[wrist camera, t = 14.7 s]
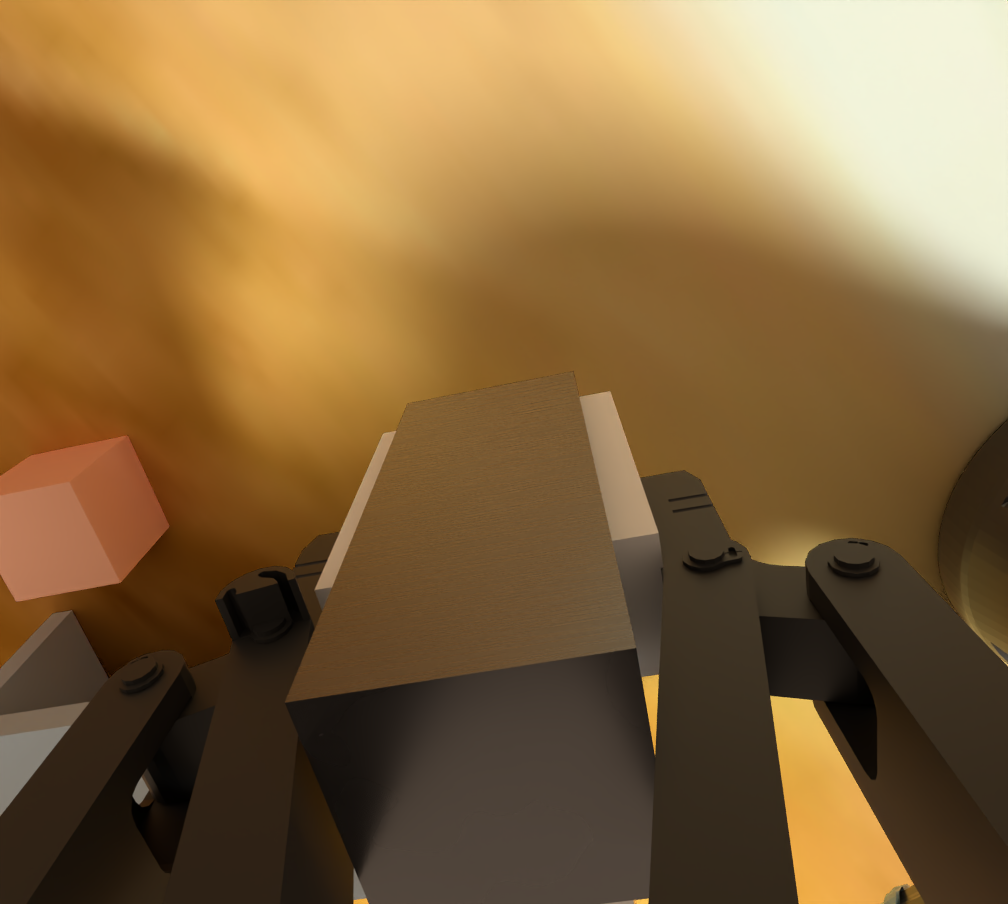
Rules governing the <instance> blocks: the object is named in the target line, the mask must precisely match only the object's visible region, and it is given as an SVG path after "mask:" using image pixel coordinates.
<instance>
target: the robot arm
mask: <svg viewBox="0 0 1008 904" xmlns="http://www.w3.org/2000/svg"><path fill="white" fill-rule="evenodd" d="M579 398H580V402H581V407H582V411H583V415H584V420H585V424H586V429H587V433H588V437H589V442H590V446H591V451H592V455H593V459H594V464H595V468H596V473H597V477H598V481H599V486H600V490H601V495H602V499H603V503H604V508H605V512H606V517H607V521H608V525H609V530H610V534H611V539H612V543H613V547H614V552H615V556H616V561H617V565H618V569H619V574H620V578H621V583H622V587H623V591H624V596H625V600H626V605H627V609H628V613H629V618H630V622H631V627H632V631H633V635H634V640H635V644H636V649H637V655H638V660H639V666H640V672H641V677H644V676H651V675H658V674H659V688H658V710H657V732H656V753H655V775H654V797H653V819H652V841H651V863H650V885H649V904H799V903H798V896H797V888H796V881H795V874H794V867H793V859H792V852H791V845H790V838H789V830H788V823H787V816H786V809H785V801H784V794H783V787H782V780H781V772H780V765H779V758H778V751H777V743H776V736H775V729H774V722H773V714H772V707H771V700H770V696H779V697H789V698H799V699H809V700H813V703H814V707H815V709H816V711H817V713H818V714H819V716H820V718H821V720H822V721H823V723H824V725H825V727H826V729H827V730H828V732H829V734H830V736H831V737H832V739H833V741H834V743H835V745H836V746H837V748H838V750H839V752H840V754H841V755H842V757H843V759H844V761H845V762H846V764H847V766H848V768H849V770H850V771H851V773H852V775H853V777H854V778H855V780H856V782H857V784H858V786H859V787H860V789H861V791H862V793H863V794H864V796H865V798H866V800H867V802H868V803H869V805H870V807H871V809H872V810H873V812H874V814H875V816H876V818H877V819H878V821H879V823H880V825H881V826H882V828H883V830H884V832H885V834H886V835H887V837H888V839H889V841H890V842H891V844H892V846H893V848H894V850H895V851H896V853H897V855H898V857H899V859H900V860H901V862H902V864H903V866H904V867H905V869H906V871H907V873H908V875H909V876H910V878H911V880H912V882H913V883H914V885H913V886H911V887H910V886H909V885H908V884H905V885H901V886H897V887H894V888H893V889H892V890H891V892H890V893H889V894H886V896H885V898H884V902H883V903H881V904H1008V666H1007V665H1006V664H1005V663H1004V662H1003V661H1005V662H1006V663H1007V664H1008V420H1007V421H1006V422H1005V423H1004V424H1003V425H1002V426H1001V427H1000V428H999V429H998V430H997V431H996V432H995V433H994V434H993V435H992V436H991V437H990V438H989V439H988V440H987V441H986V443H985V444H984V445H983V446H982V447H981V449H980V450H979V451H978V452H977V453H976V455H975V456H974V457H973V459H972V460H971V462H970V463H969V464H968V466H967V467H966V469H965V471H964V472H963V474H962V475H961V477H960V479H959V481H958V482H957V484H956V486H955V488H954V490H953V492H952V495H951V497H950V499H949V502H948V504H947V507H946V510H945V513H944V516H943V520H942V524H941V529H940V534H939V543H938V562H939V570H940V575H941V580H942V583H943V586H944V589H945V592H946V594H947V596H948V598H949V600H950V602H951V604H952V606H953V607H954V609H955V610H956V611H957V613H958V614H959V615H960V616H959V615H958V614H957V613H956V612H955V611H954V610H953V609H952V608H951V607H950V606H949V605H948V604H947V603H946V602H945V601H944V600H943V599H942V598H941V597H940V596H939V595H938V594H937V593H936V591H935V590H934V589H933V588H932V587H931V586H930V585H929V584H928V583H927V582H926V581H925V580H924V579H923V578H922V577H921V576H920V575H919V574H918V573H917V572H916V571H915V570H914V569H913V568H912V567H911V566H910V565H909V564H908V562H907V561H906V560H905V559H904V558H903V557H902V556H901V555H900V554H898V553H897V552H895V551H894V550H893V549H891V548H890V547H888V546H886V545H883V544H880V543H877V542H874V541H870V540H864V539H854V538H848V539H838V540H832V541H829V542H826V543H822V544H819V545H818V546H817V547H815V548H814V549H812V550H811V551H810V552H809V553H808V556H807V558H806V560H805V567H801V566H779V565H769V564H765V563H761V562H757V561H755V560H752V559H751V556H750V554H749V553H748V551H747V549H746V548H745V547H744V546H742V545H741V544H739V543H738V542H736V541H733V540H731V539H730V537H729V535H728V533H727V531H726V529H725V527H724V525H723V523H722V521H721V519H720V517H719V515H718V513H717V512H716V510H715V508H714V506H713V504H712V502H711V500H710V498H709V496H708V495H707V492H706V490H705V488H704V486H703V484H702V482H701V480H700V479H698V478H696V477H695V476H693V475H691V474H690V473H688V472H686V471H685V470H683V471H677V472H671V473H665V474H660V475H654V476H648V477H642V478H640V477H639V474H638V471H637V468H636V465H635V462H634V459H633V456H632V453H631V450H630V447H629V445H628V442H627V439H626V436H625V433H624V430H623V427H622V424H621V421H620V418H619V415H618V412H617V409H616V406H615V403H614V401H613V398H612V395H611V392H610V391H608V392H602V393H597V394H591V395H586V396H581V397H579ZM395 433H396V431H393V432H387V433H383V435H382V437H381V439H380V442H379V444H378V446H377V449H376V451H375V453H374V455H373V458H372V460H371V462H370V464H369V467H368V469H367V471H366V474H365V476H364V478H363V480H362V483H361V485H360V487H359V490H358V492H357V494H356V496H355V499H354V501H353V503H352V506H351V508H350V510H349V512H348V515H347V517H346V519H345V521H344V524H343V526H342V528H341V531H340V532H336V533H330V534H324V535H319V536H317V537H316V538H315V539H314V540H313V541H312V542H311V543H310V544H309V545H308V546H307V547H305V548H304V549H303V550H302V552H301V554H300V556H299V558H298V560H297V562H296V564H295V568H293V570H290V569H289V568H287V567H278V566H273V567H267V568H261V569H258V570H255V571H253V572H250V573H247V574H245V575H243V576H241V577H239V578H238V579H236V580H234V581H232V582H231V583H230V584H228V585H227V586H226V587H225V588H224V589H223V590H221V591H220V593H219V595H218V596H217V598H216V599H215V602H216V604H217V606H218V609H219V611H220V613H221V615H222V618H223V620H224V622H225V625H226V627H227V629H228V631H229V634H230V636H231V638H232V645H231V649H230V652H229V654H226V655H224V656H222V657H219V658H217V659H214V660H211V661H208V662H206V663H203V664H200V665H197V666H195V667H192V668H188V666H187V664H186V662H185V659H184V657H183V655H182V654H180V653H178V652H176V651H174V650H161V651H157V652H153V653H148V654H145V655H142V656H140V657H139V658H138V657H137V658H135V659H133V660H131V661H130V662H128V663H127V664H126V665H125V666H123V667H122V668H120V669H119V670H117V671H116V672H115V673H114V674H113V675H112V676H111V677H110V678H109V679H108V680H107V681H106V682H105V683H104V684H103V686H102V687H101V688H100V690H99V691H98V692H97V693H96V695H95V696H94V697H93V698H92V700H91V701H90V702H89V704H88V705H87V706H86V707H85V709H84V710H83V711H82V713H81V714H80V715H79V716H78V718H77V719H76V720H75V721H74V723H73V724H72V725H71V727H70V728H69V729H68V730H67V732H66V733H65V734H64V735H63V737H62V738H61V739H60V741H59V742H58V743H57V744H56V746H55V747H54V748H53V749H52V751H51V752H50V753H49V755H48V756H47V757H46V758H45V760H44V761H43V762H42V764H41V765H40V766H39V767H38V769H37V770H36V771H35V772H34V774H33V775H32V776H31V778H30V779H29V780H28V781H27V783H26V784H25V785H24V786H23V788H22V789H21V790H20V792H19V793H18V794H17V795H16V797H15V798H14V799H13V800H12V802H11V803H10V804H9V806H8V807H7V808H6V809H5V811H4V812H3V813H2V815H1V816H0V904H353V893H354V867H353V864H352V862H351V860H350V857H349V855H348V853H347V850H346V848H345V845H344V843H343V841H342V838H341V836H340V833H339V831H338V829H337V826H336V824H335V822H334V819H333V817H332V814H331V812H330V810H329V807H328V805H327V802H326V800H325V798H324V795H323V793H322V791H321V788H320V786H319V783H318V781H317V779H316V776H315V774H314V771H313V769H312V767H311V764H310V762H309V760H308V757H307V755H306V752H305V750H304V748H303V745H302V743H301V740H300V738H299V736H298V733H297V731H296V729H295V726H294V724H293V721H292V719H291V717H290V714H289V712H288V709H287V707H286V705H285V701H286V698H287V696H288V693H289V691H290V688H291V686H292V684H293V681H294V679H295V676H296V674H297V671H298V669H299V667H300V664H301V662H302V659H303V657H304V654H305V652H306V649H307V647H308V645H309V642H310V640H311V637H312V635H313V632H314V630H315V628H316V625H317V623H318V620H319V618H320V615H321V613H322V611H323V608H324V606H325V603H326V601H327V598H328V596H329V593H330V591H331V589H332V586H333V584H334V581H335V579H336V576H337V574H338V572H339V569H340V567H341V564H342V562H343V559H344V557H345V555H346V552H347V550H348V547H349V545H350V542H351V540H352V537H353V535H354V533H355V530H356V528H357V525H358V523H359V520H360V518H361V516H362V513H363V511H364V508H365V506H366V503H367V501H368V499H369V496H370V494H371V491H372V489H373V486H374V484H375V481H376V479H377V477H378V474H379V472H380V469H381V467H382V464H383V462H384V460H385V457H386V455H387V452H388V450H389V447H390V445H391V443H392V440H393V438H394V435H395ZM965 622H966V623H965ZM1000 658H1001V659H1002V660H1003V661H1002V660H1001V659H1000ZM141 777H142V778H143V780H144V782H145V784H146V786H147V788H148V789H149V791H148V793H147V794H146V796H145V798H144V799H143V801H142V802H141V803H140V804H138V803H137V802H136V801H135V799H134V798H133V793H134V791H135V788H136V786H137V783H138V782H139V780H140V778H141Z"/></svg>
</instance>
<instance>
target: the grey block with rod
mask: <svg viewBox="0 0 1008 904" xmlns="http://www.w3.org/2000/svg"><path fill="white" fill-rule="evenodd" d="M285 705H286V707H287V709H288V712H289V714H290V717H291V719H292V721H293V724H294V726H295V729H296V731H297V733H298V736H299V738H300V740H301V743H302V745H303V748H304V750H305V752H306V755H307V757H308V760H309V762H310V764H311V767H312V769H313V771H314V774H315V776H316V779H317V781H318V783H319V786H320V788H321V791H322V793H323V795H324V798H325V800H326V802H327V805H328V807H329V810H330V812H331V814H332V817H333V819H334V822H335V824H336V826H337V829H338V831H339V833H340V836H341V838H342V841H343V843H344V845H345V848H346V850H347V853H348V855H349V857H350V860H351V862H352V864H353V867H354V869H355V872H356V874H357V876H358V879H359V881H360V884H361V886H362V888H363V891H364V893H365V895H366V898H367V900H368V903H369V904H637V903H636V900H638V899H647V898H649V885H650V863H651V841H652V819H653V797H654V775H655V754H654V748H653V742H652V736H651V731H650V725H649V719H648V713H647V707H646V701H645V696H644V690H643V684H642V678H641V672H640V666H639V660H638V655H637V649H636V644H635V640H634V635H633V631H632V627H631V622H630V618H629V613H628V609H627V605H626V600H625V596H624V591H623V587H622V583H621V578H620V574H619V569H618V565H617V561H616V556H615V552H614V547H613V543H612V539H611V534H610V530H609V525H608V521H607V517H606V512H605V508H604V503H603V499H602V495H601V490H600V486H599V481H598V477H597V473H596V468H595V464H594V459H593V455H592V451H591V446H590V442H589V437H588V433H587V429H586V424H585V420H584V415H583V411H582V407H581V402H580V398H579V393H578V389H577V385H576V380H575V376H574V371H572V372H567V373H562V374H557V375H552V376H547V377H541V378H536V379H531V380H526V381H521V382H516V383H511V384H506V385H500V386H495V387H490V388H485V389H480V390H475V391H470V392H464V393H459V394H454V395H449V396H444V397H439V398H434V399H428V400H423V401H418V402H413V403H408V404H407V406H406V408H405V411H404V413H403V416H402V418H401V421H400V423H399V425H398V428H397V430H396V433H395V435H394V438H393V440H392V443H391V445H390V447H389V450H388V452H387V455H386V457H385V460H384V462H383V464H382V467H381V469H380V472H379V474H378V477H377V479H376V481H375V484H374V486H373V489H372V491H371V494H370V496H369V499H368V501H367V503H366V506H365V508H364V511H363V513H362V516H361V518H360V520H359V523H358V525H357V528H356V530H355V533H354V535H353V537H352V540H351V542H350V545H349V547H348V550H347V552H346V555H345V557H344V559H343V562H342V564H341V567H340V569H339V572H338V574H337V576H336V579H335V581H334V584H333V586H332V589H331V591H330V593H329V596H328V598H327V601H326V603H325V606H324V608H323V611H322V613H321V615H320V618H319V620H318V623H317V625H316V628H315V630H314V632H313V635H312V637H311V640H310V642H309V645H308V647H307V649H306V652H305V654H304V657H303V659H302V662H301V664H300V667H299V669H298V671H297V674H296V676H295V679H294V681H293V684H292V686H291V688H290V691H289V693H288V696H287V698H286V701H285Z"/></svg>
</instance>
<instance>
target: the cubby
mask: <svg viewBox="0 0 1008 904" xmlns="http://www.w3.org/2000/svg"><path fill="white" fill-rule="evenodd" d="M108 679H109V678H108V677H107V675H106V673H105V671H104V669H103V667H102V665H101V664H100V662H99V660H98V658H97V656H96V654H95V652H94V650H93V649H92V647H91V645H90V643H89V641H88V639H87V637H86V635H85V634H84V632H83V630H82V628H81V626H80V624H79V622H78V620H77V619H76V617H75V615H74V613H73V611H72V610H70V611H64V612H58V613H53V614H52V615H51V616H50V617H49V618H48V619H47V620H46V621H45V622H44V623H43V624H42V625H41V626H40V627H39V628H38V629H37V630H36V631H35V632H34V633H33V635H32V636H31V637H30V638H29V639H28V640H27V641H26V642H25V643H24V644H23V645H22V646H21V647H20V648H19V649H18V650H17V651H16V652H15V653H14V654H13V656H12V657H11V658H10V659H9V660H8V661H7V662H6V663H5V664H4V665H3V666H2V667H1V668H0V816H1V815H2V813H3V812H4V811H5V809H6V808H7V807H8V806H9V804H10V803H11V802H12V800H13V799H14V798H15V797H16V795H17V794H18V793H19V792H20V790H21V789H22V788H23V786H24V785H25V784H26V783H27V781H28V780H29V779H30V778H31V776H32V775H33V774H34V772H35V771H36V770H37V769H38V767H39V766H40V765H41V764H42V762H43V761H44V760H45V758H46V757H47V756H48V755H49V753H50V752H51V751H52V749H53V748H54V747H55V746H56V744H57V743H58V742H59V741H60V739H61V738H62V737H63V735H64V734H65V733H66V732H67V730H68V729H69V728H70V727H71V725H72V724H73V723H74V721H75V720H76V719H77V718H78V716H79V715H80V714H81V713H82V711H83V710H84V709H85V707H86V706H87V705H88V704H89V702H90V701H91V700H92V698H93V697H94V696H95V695H96V693H97V692H98V691H99V690H100V688H101V687H102V686H103V684H104V683H105V682H106V681H107V680H108ZM148 791H149V789H148V788H147V786H146V784H145V782H144V780H143V778H142V777H141V778H140V780H139V782H138V783H137V786H136V788H135V791H134V793H133V798H134V799H135V801H136V802H137V803H138V804H140V803H141V802H142V801H143V799H144V798H145V796H146V794H147V793H148ZM364 898H366V895H365V893H364V891H363V888H362V886H361V884H360V881H359V879H358V876H357V874H356V872H355V869H354V893H353V900H356V899H364Z"/></svg>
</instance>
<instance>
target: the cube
mask: <svg viewBox="0 0 1008 904" xmlns="http://www.w3.org/2000/svg"><path fill="white" fill-rule="evenodd" d="M169 527H170V526H169V524H168V522H167V519H166V517H165V515H164V513H163V511H162V509H161V506H160V504H159V502H158V500H157V498H156V496H155V493H154V491H153V489H152V487H151V485H150V483H149V480H148V478H147V476H146V474H145V472H144V470H143V467H142V465H141V463H140V461H139V459H138V457H137V454H136V452H135V450H134V448H133V446H132V443H131V441H130V439H129V437H128V435H127V436H122V437H117V438H112V439H108V440H103V441H98V442H93V443H88V444H83V445H78V446H74V447H69V448H64V449H59V450H54V451H49V452H45V453H40V454H35V455H31V456H29V457H28V458H26V459H25V460H23V461H22V462H20V463H19V464H17V465H16V466H14V467H13V468H11V469H10V470H8V471H7V472H5V473H4V474H2V475H1V476H0V575H1V577H2V578H3V580H4V582H5V583H6V585H7V587H8V589H9V590H10V592H11V594H12V595H13V597H14V599H15V601H16V602H19V601H24V600H29V599H35V598H40V597H46V596H51V595H57V594H62V593H67V592H73V591H78V590H84V589H89V588H95V587H100V586H105V585H111V584H116V583H121V582H122V581H123V579H124V578H125V577H126V576H127V575H128V574H129V573H130V571H131V570H132V569H133V568H134V567H135V566H136V564H137V563H138V562H139V561H140V560H141V559H142V558H143V556H144V555H145V554H146V553H147V552H148V551H149V550H150V548H151V547H152V546H153V545H154V544H155V543H156V542H157V540H158V539H159V538H160V537H161V536H162V535H163V533H164V532H165V531H166V530H167V529H168V528H169Z"/></svg>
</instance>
